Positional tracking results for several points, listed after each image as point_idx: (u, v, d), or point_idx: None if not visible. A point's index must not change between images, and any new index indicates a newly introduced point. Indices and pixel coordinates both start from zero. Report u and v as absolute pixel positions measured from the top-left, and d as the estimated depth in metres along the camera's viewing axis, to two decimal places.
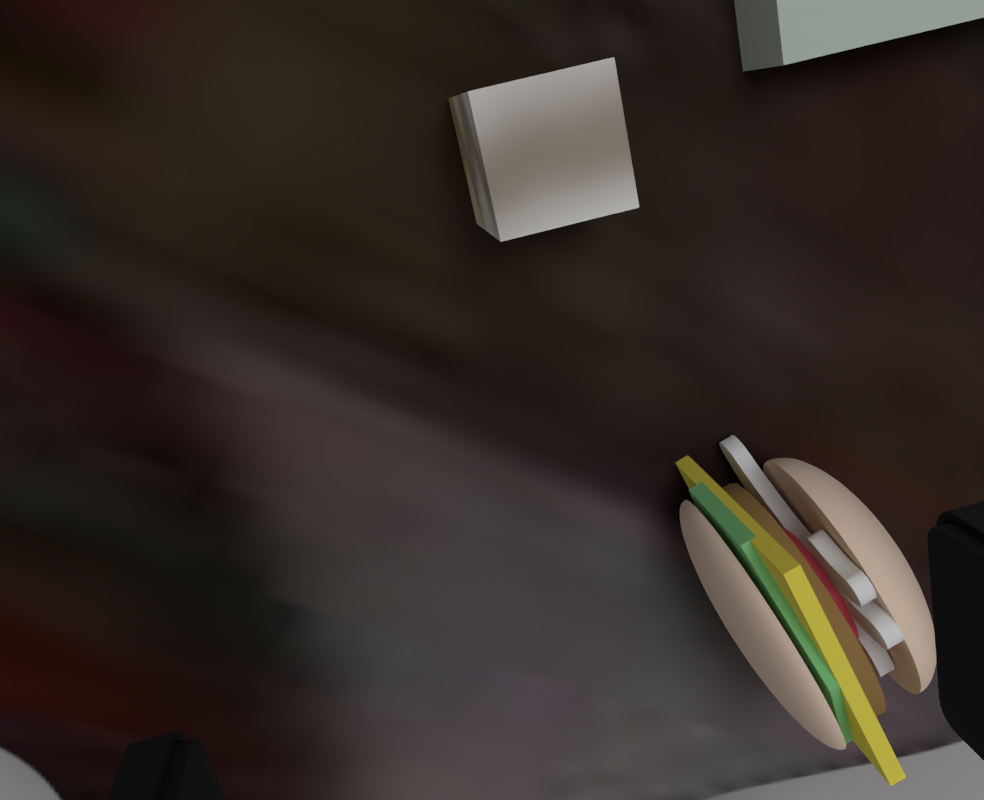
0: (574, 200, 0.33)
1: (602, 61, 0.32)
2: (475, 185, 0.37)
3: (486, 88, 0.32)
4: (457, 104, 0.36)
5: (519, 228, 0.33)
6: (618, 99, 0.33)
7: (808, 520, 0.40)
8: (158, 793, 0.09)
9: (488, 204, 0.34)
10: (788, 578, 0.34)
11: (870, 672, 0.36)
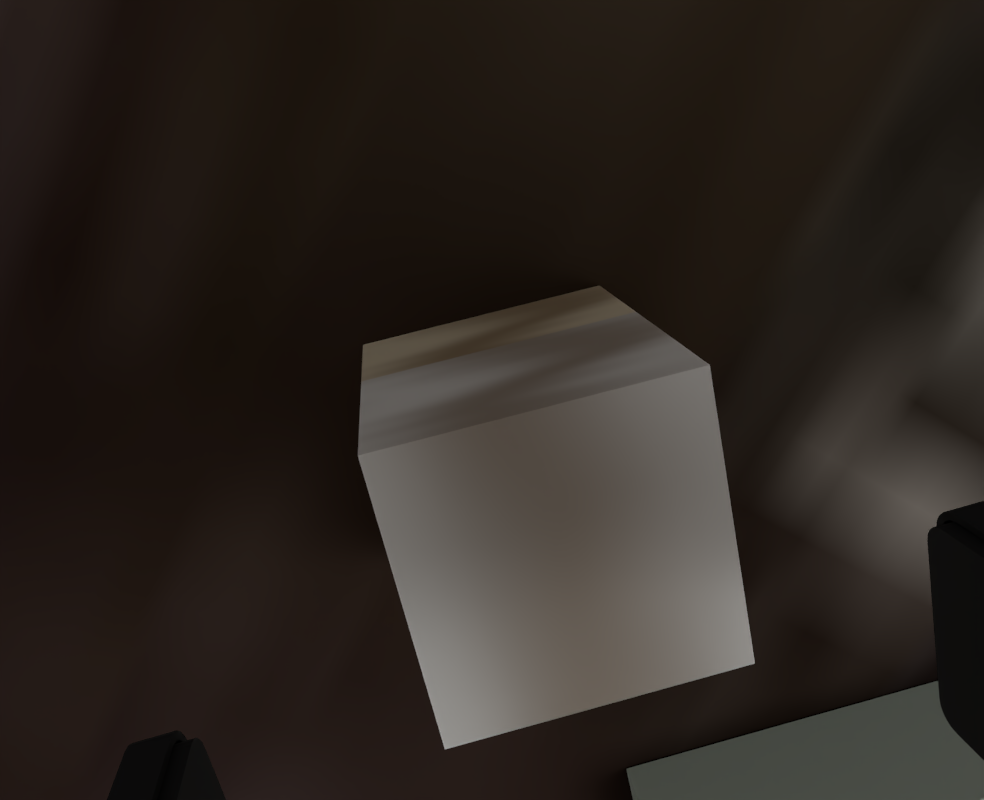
0: (459, 614, 0.14)
1: (748, 642, 0.15)
2: (456, 355, 0.17)
3: (713, 407, 0.14)
4: (618, 315, 0.17)
5: (392, 496, 0.13)
6: (672, 681, 0.15)
7: None
8: (158, 793, 0.09)
9: (438, 408, 0.14)
10: None
11: None
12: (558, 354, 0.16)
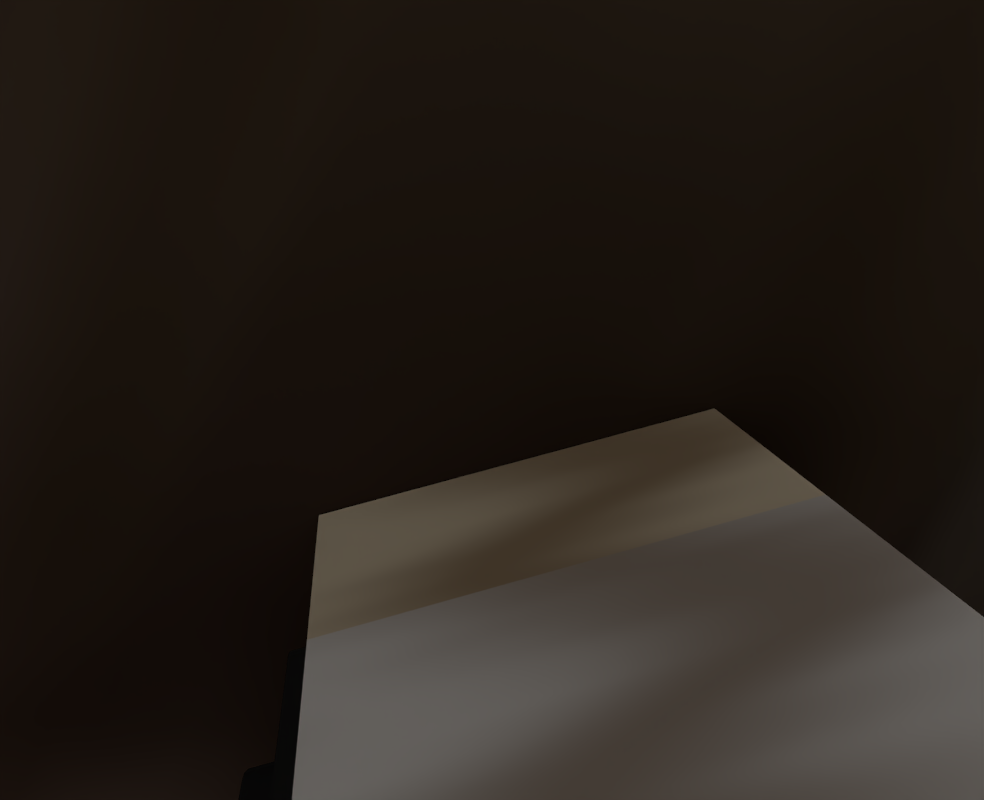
0: None
1: None
2: (489, 582, 0.09)
3: None
4: (793, 501, 0.09)
5: None
6: None
7: None
8: None
9: None
10: None
11: None
12: (709, 619, 0.08)
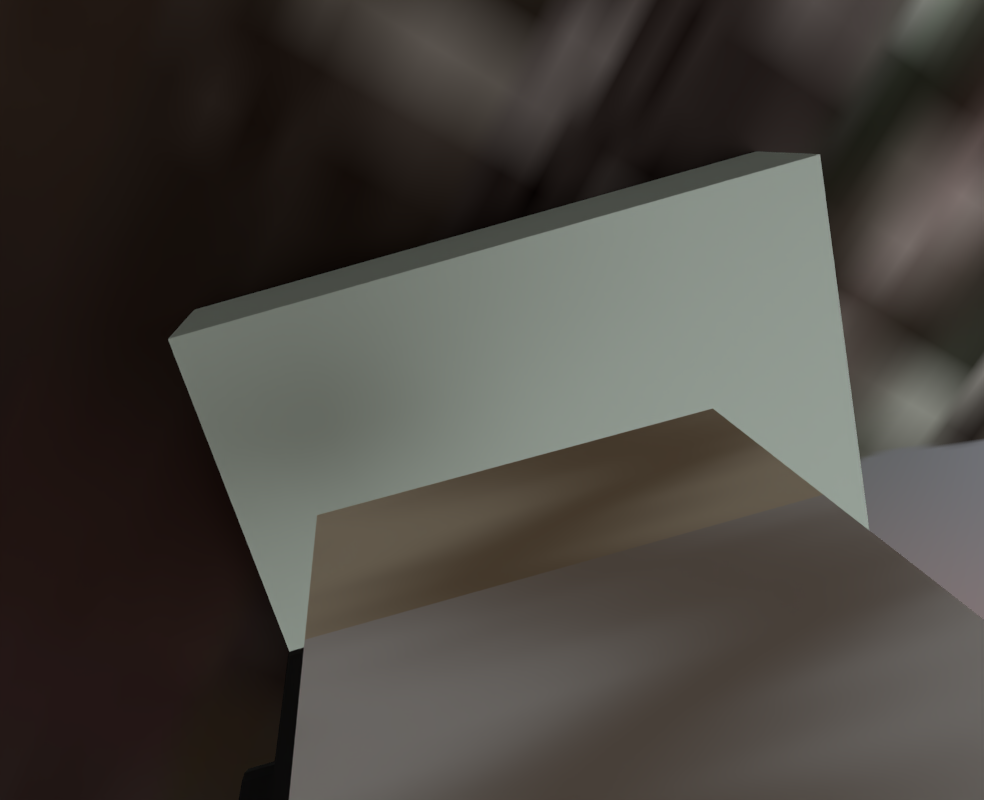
0: None
1: None
2: (487, 582, 0.09)
3: None
4: (790, 501, 0.09)
5: None
6: None
7: None
8: None
9: None
10: None
11: None
12: (706, 619, 0.08)
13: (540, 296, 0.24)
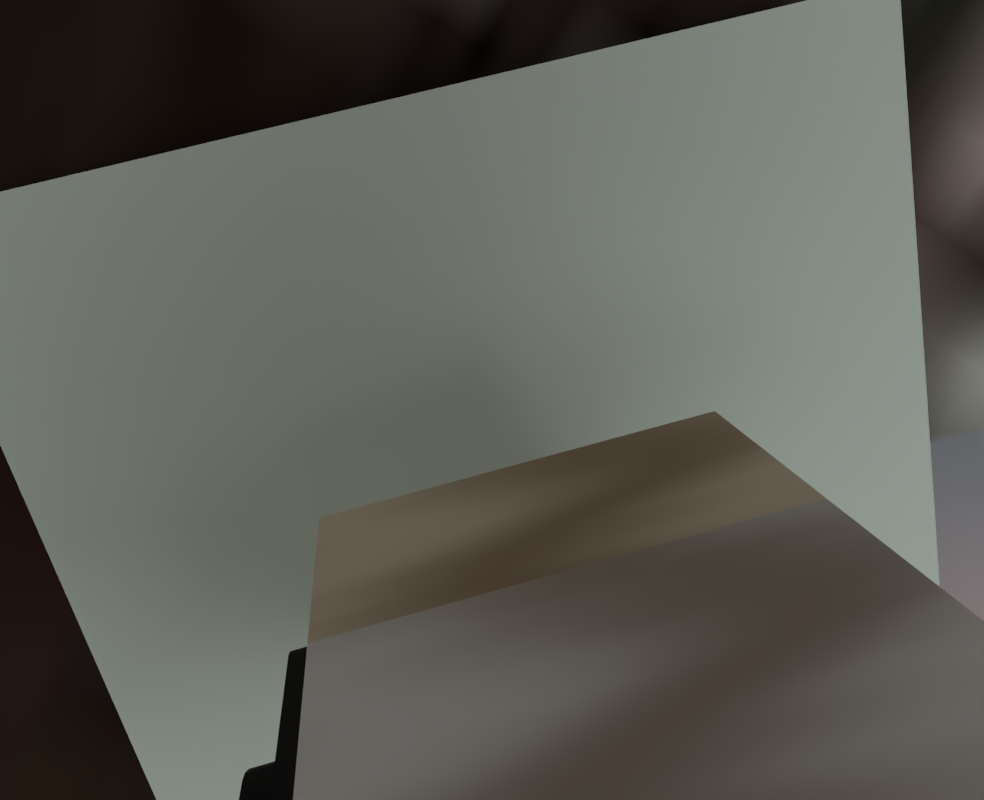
0: None
1: None
2: (489, 585, 0.09)
3: None
4: (793, 504, 0.09)
5: None
6: None
7: None
8: None
9: None
10: None
11: None
12: (709, 623, 0.08)
13: (475, 176, 0.16)
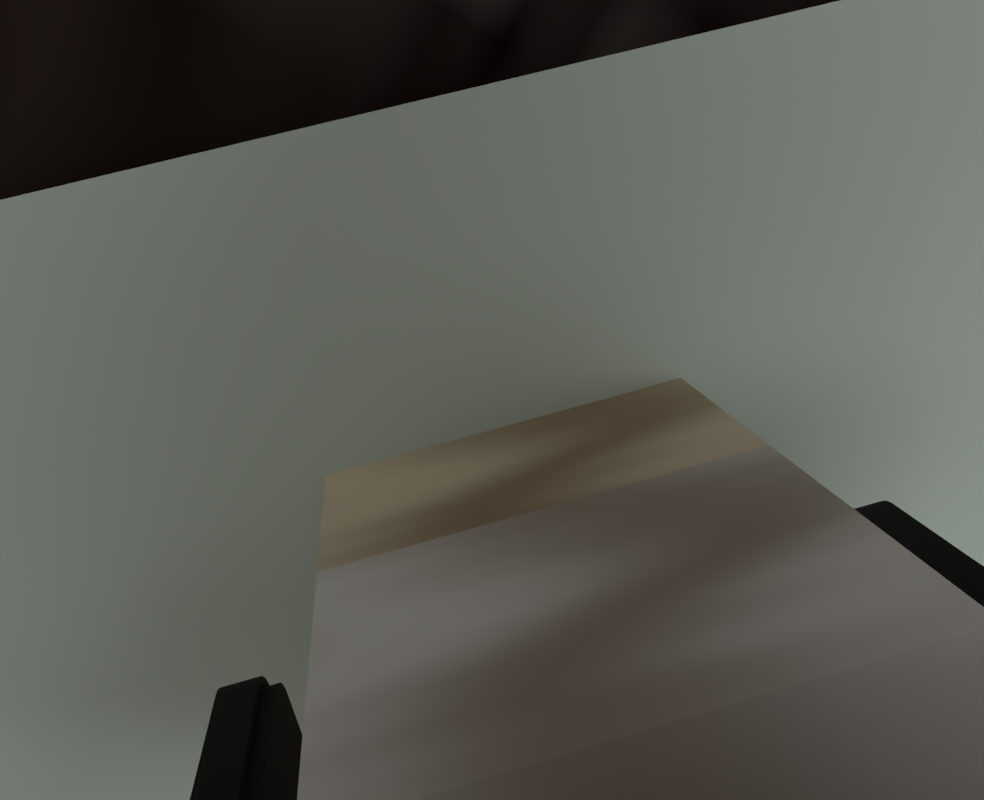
0: None
1: None
2: (475, 522, 0.10)
3: None
4: (740, 450, 0.11)
5: None
6: None
7: None
8: (253, 729, 0.10)
9: (455, 684, 0.08)
10: None
11: None
12: (660, 543, 0.09)
13: (499, 208, 0.12)
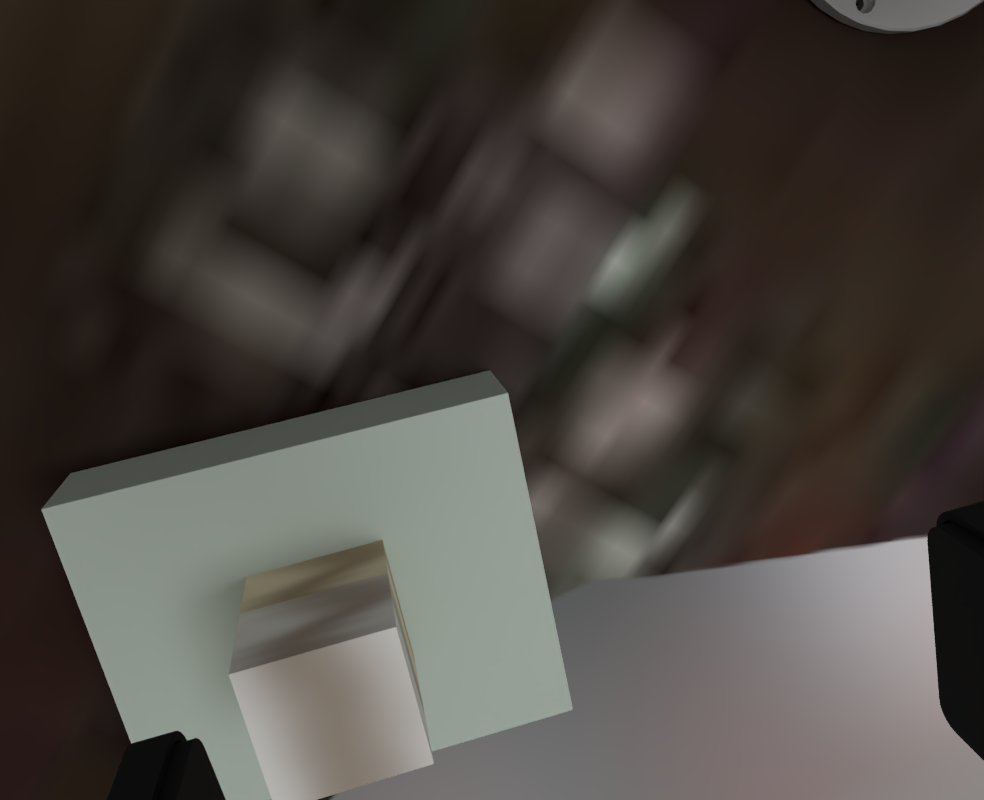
0: (280, 745, 0.29)
1: (429, 753, 0.30)
2: (291, 597, 0.32)
3: (399, 645, 0.29)
4: (378, 574, 0.33)
5: (245, 692, 0.28)
6: (391, 774, 0.30)
7: None
8: (158, 793, 0.09)
9: (271, 643, 0.30)
10: None
11: None
12: (338, 605, 0.31)
13: (310, 483, 0.34)
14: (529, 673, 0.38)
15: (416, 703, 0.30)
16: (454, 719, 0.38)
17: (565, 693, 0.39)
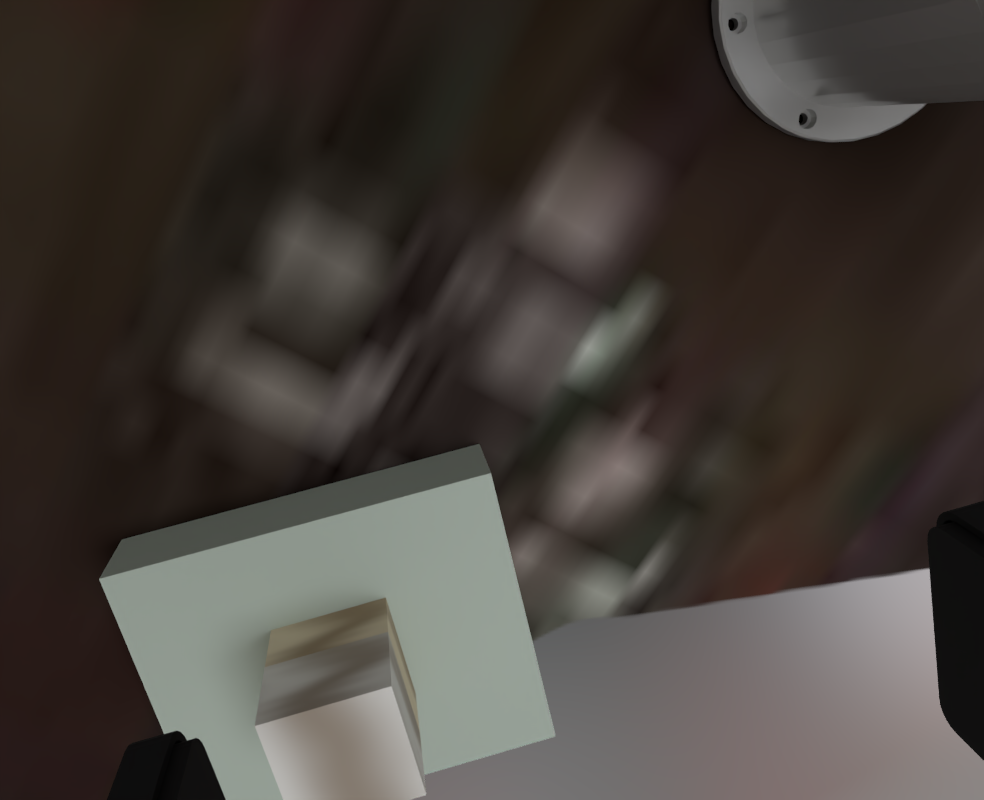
0: (298, 781, 0.35)
1: (422, 786, 0.36)
2: (307, 653, 0.38)
3: (394, 700, 0.35)
4: (380, 633, 0.39)
5: (269, 739, 0.35)
6: None
7: None
8: (158, 793, 0.09)
9: (290, 697, 0.36)
10: None
11: None
12: (345, 663, 0.37)
13: (322, 552, 0.40)
14: (517, 706, 0.44)
15: (410, 746, 0.36)
16: (452, 745, 0.44)
17: (548, 722, 0.45)
